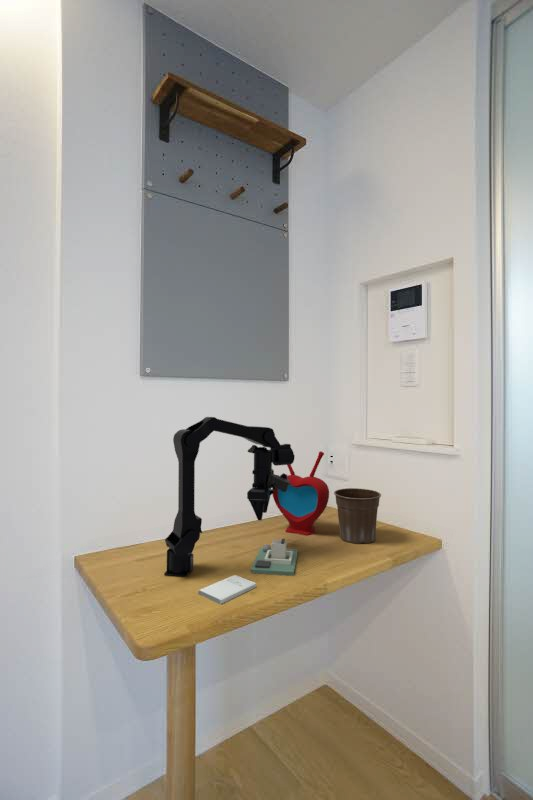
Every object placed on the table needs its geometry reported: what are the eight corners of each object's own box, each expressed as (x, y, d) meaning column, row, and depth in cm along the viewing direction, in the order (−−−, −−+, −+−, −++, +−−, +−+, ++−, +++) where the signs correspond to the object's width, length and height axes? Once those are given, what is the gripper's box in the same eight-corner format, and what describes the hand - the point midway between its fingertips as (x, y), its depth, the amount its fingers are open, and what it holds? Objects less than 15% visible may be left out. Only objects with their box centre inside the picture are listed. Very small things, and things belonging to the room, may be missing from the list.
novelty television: (269, 530, 154) (269, 450, 154) (283, 522, 165) (284, 447, 166) (321, 539, 144) (321, 453, 145) (333, 529, 156) (333, 450, 156)
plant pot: (373, 549, 134) (373, 500, 134) (327, 541, 142) (327, 494, 142) (386, 536, 148) (386, 491, 148) (343, 529, 156) (343, 486, 156)
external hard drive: (198, 596, 102) (233, 580, 111) (220, 606, 97) (256, 588, 106) (198, 589, 102) (233, 573, 111) (220, 599, 97) (256, 582, 106)
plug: (271, 561, 121) (271, 542, 121) (273, 556, 125) (273, 537, 125) (284, 561, 120) (285, 542, 121) (286, 556, 124) (286, 538, 125)
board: (250, 573, 115) (250, 563, 115) (260, 550, 133) (260, 542, 133) (293, 575, 113) (293, 566, 113) (297, 552, 131) (297, 544, 131)
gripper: (284, 472, 119) (284, 526, 119) (291, 463, 138) (291, 510, 137) (247, 470, 121) (246, 524, 121) (258, 462, 139) (258, 508, 139)
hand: (262, 516), depth 130 cm, fingers open, 9 cm apart
